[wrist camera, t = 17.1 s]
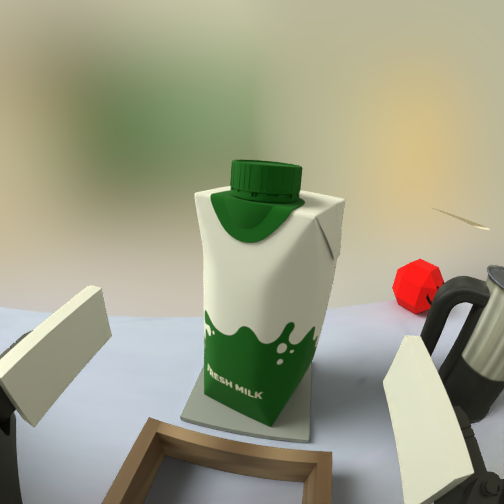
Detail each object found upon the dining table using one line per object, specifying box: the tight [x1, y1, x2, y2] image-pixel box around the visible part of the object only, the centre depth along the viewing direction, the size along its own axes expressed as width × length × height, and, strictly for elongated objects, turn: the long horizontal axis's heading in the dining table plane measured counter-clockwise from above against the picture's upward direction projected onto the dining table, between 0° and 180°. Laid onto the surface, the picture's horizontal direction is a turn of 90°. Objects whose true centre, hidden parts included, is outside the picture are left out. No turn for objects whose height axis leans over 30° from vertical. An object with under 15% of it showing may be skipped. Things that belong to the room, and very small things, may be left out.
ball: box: [392, 259, 444, 314], centre depth 40 cm, size 8×8×8 cm
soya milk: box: [195, 160, 345, 427], centre depth 21 cm, size 9×9×20 cm
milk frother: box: [420, 265, 504, 423], centre depth 17 cm, size 14×16×15 cm
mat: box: [180, 362, 312, 443], centre depth 25 cm, size 11×11×1 cm
